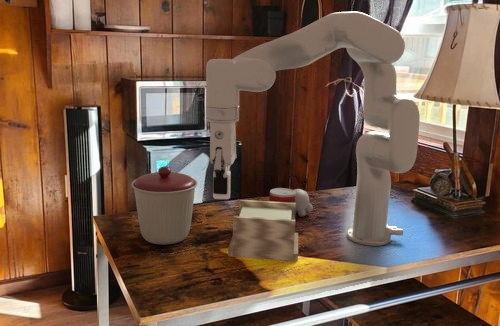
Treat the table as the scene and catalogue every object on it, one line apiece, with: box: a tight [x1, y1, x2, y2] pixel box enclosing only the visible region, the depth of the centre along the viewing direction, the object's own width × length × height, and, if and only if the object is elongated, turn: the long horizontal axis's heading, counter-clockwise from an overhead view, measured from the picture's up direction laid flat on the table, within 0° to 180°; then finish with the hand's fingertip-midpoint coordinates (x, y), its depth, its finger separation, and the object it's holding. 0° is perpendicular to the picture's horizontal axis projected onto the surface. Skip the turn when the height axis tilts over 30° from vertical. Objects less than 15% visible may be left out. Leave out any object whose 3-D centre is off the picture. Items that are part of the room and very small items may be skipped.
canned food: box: [268, 187, 296, 203], centre depth 152 cm, size 8×8×11 cm
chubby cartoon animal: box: [293, 188, 314, 218], centre depth 162 cm, size 7×12×8 cm, turn 118°
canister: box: [130, 165, 199, 246], centre depth 138 cm, size 18×18×21 cm
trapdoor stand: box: [227, 199, 299, 262], centre depth 135 cm, size 18×15×11 cm
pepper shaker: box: [212, 162, 232, 200], centre depth 116 cm, size 4×4×10 cm
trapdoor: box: [240, 206, 292, 220], centre depth 135 cm, size 14×12×2 cm
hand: (221, 189), depth 117 cm, fingers closed on pepper shaker, 4 cm apart
